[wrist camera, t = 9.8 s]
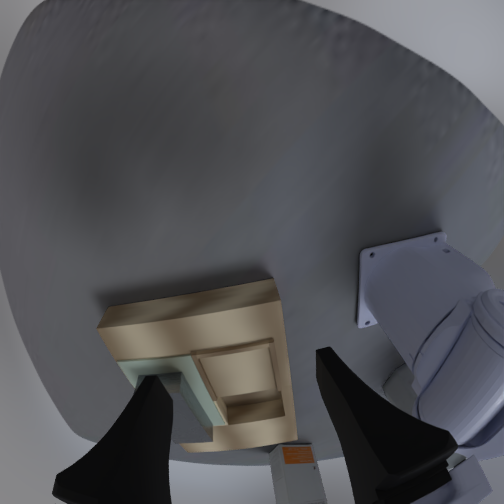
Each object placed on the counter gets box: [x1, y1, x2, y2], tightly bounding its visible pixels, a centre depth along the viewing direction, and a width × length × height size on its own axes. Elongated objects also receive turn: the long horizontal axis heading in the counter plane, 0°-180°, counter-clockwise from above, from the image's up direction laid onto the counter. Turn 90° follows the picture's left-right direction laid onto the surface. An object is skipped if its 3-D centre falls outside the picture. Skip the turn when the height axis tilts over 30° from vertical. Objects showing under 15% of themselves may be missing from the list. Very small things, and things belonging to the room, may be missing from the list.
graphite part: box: [134, 372, 213, 443], centre depth 20 cm, size 4×9×2 cm, turn 10°
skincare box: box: [269, 444, 327, 504], centre depth 28 cm, size 6×4×12 cm
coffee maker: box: [383, 363, 467, 469], centre depth 20 cm, size 15×9×18 cm, turn 165°
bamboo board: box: [96, 278, 298, 452], centre depth 23 cm, size 14×22×3 cm, turn 10°
